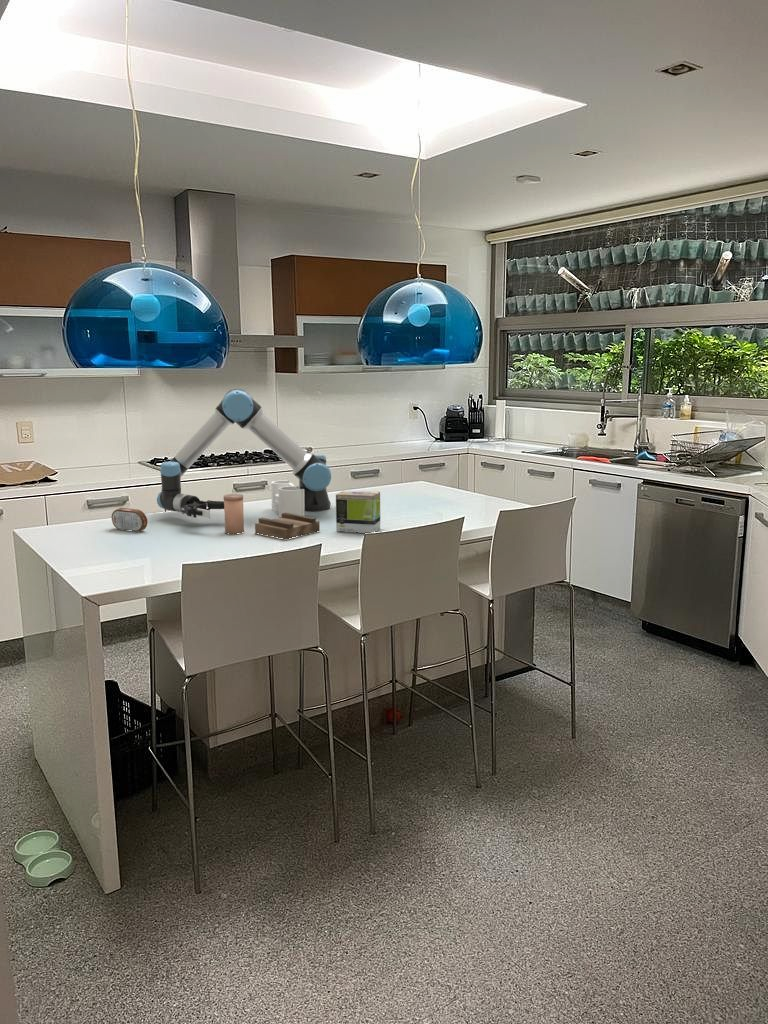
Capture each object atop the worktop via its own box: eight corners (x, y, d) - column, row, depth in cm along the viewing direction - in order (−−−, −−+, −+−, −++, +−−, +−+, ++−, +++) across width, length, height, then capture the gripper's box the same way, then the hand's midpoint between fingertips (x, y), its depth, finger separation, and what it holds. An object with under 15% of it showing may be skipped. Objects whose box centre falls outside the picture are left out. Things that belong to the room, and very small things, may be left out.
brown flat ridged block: (289, 525, 312) (288, 511, 311) (319, 531, 303) (319, 517, 302) (255, 533, 298) (254, 519, 297) (285, 540, 289) (285, 525, 288)
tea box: (380, 528, 308) (381, 491, 305) (373, 534, 299) (373, 495, 296) (343, 526, 312) (343, 489, 309) (335, 532, 303) (335, 493, 299)
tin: (148, 531, 302) (147, 509, 300) (143, 533, 299) (141, 511, 297) (116, 527, 307) (115, 506, 305) (110, 529, 304) (109, 508, 302)
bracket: (268, 508, 344) (267, 481, 341) (290, 507, 347) (289, 479, 345) (282, 520, 321) (281, 491, 319) (305, 519, 325) (305, 489, 322)
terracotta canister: (235, 529, 306) (234, 493, 303) (248, 532, 302) (247, 495, 299) (220, 532, 300) (219, 496, 297) (233, 535, 296) (232, 498, 293)
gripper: (212, 508, 325) (248, 515, 313) (161, 518, 306) (197, 526, 293) (211, 490, 324) (247, 496, 311) (160, 499, 305) (196, 506, 292)
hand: (223, 511), depth 302 cm, fingers open, 13 cm apart
